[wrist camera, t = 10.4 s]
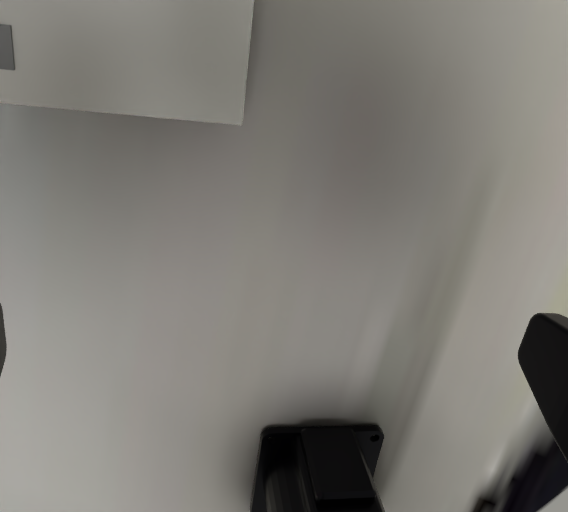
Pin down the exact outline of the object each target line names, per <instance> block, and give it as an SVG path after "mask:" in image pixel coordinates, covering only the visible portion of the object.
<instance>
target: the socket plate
mask: <svg viewBox="0 0 568 512" xmlns="http://www.w3.org/2000/svg"><path fill="white" fill-rule="evenodd" d="M253 8H254V0H0V103H2V104H13V105H24V106H35V107H46V108H56V109H67V110H78V111H89V112H100V113H111V114H122V115H133V116H143V117H154V118H165V119H176V120H187V121H198V122H209V123H220V124H230V125H241V126H242V124H243V113H244V103H245V92H246V82H247V71H248V61H249V50H250V40H251V29H252V19H253Z"/></svg>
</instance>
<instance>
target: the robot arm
mask: <svg viewBox="0 0 568 512" xmlns="http://www.w3.org/2000/svg"><path fill="white" fill-rule="evenodd" d="M5 357H6V337H5V328H4V319H3V311H2V306H1V303H0V376H1V372H2V369H3V365H4V362H5ZM518 360H519V364H520V366H521V368H522V370H523V373H524V375H525V377H526V379H527V381H528V384H529V386H530V388H531V390H532V392H533V394H534V397H535V399H536V401H537V403H538V405H539V408H540V410H541V412H542V414H543V416H544V418H545V421H546V423H547V425H548V427H549V429H550V431H551V433H552V435H553V437H554V439H555V441H556V442H557V444H558V446H559V448H560V449H561V451H562V453H563V455H564V456H565V458H566V460H567V462H568V318H567V317H565V316H562V315H560V314H555V313H537V314H535V315H534V316H533V317H532V318H531V320H530V322H529V324H528V327H527V329H526V332H525V334H524V337H523V339H522V342H521V344H520V347H519V350H518ZM373 435H374V436H373ZM270 437H273V438H270ZM269 438H270V439H269ZM383 439H384V434H383V432H382V430H381V428H380V427H379V426H375V425H372V426H320V427H271V428H267V429H265V430H264V431H263V432H262V433H261V437H260V444H259V451H258V458H257V464H256V471H255V478H254V485H253V492H252V498H251V505H250V512H385V510H384V507H383V505H382V502H381V499H380V497H379V494H378V491H377V488H376V486H375V483H374V480H373V475H374V471H375V467H376V464H377V460H378V457H379V453H380V450H381V446H382V443H383Z"/></svg>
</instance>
